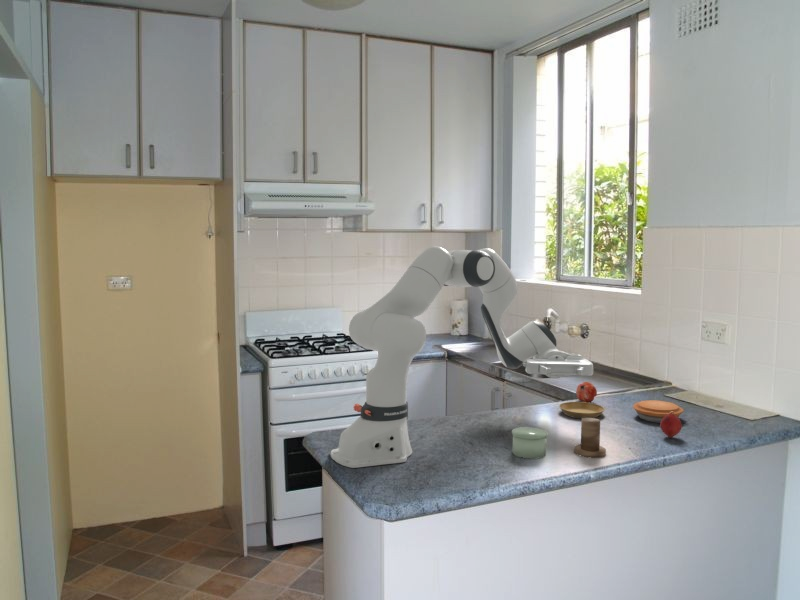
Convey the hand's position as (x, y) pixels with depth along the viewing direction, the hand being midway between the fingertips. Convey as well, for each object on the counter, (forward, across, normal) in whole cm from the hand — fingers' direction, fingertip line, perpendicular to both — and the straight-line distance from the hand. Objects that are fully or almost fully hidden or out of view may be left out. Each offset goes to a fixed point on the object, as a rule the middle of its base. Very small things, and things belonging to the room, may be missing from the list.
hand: (564, 372), depth 199 cm
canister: (+14, -12, +20) cm, 28 cm away
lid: (+14, +5, +20) cm, 25 cm away
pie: (-21, +36, +19) cm, 46 cm away
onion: (0, +32, +19) cm, 38 cm away
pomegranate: (-42, +19, +18) cm, 50 cm away
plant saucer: (-26, +13, +19) cm, 35 cm away
